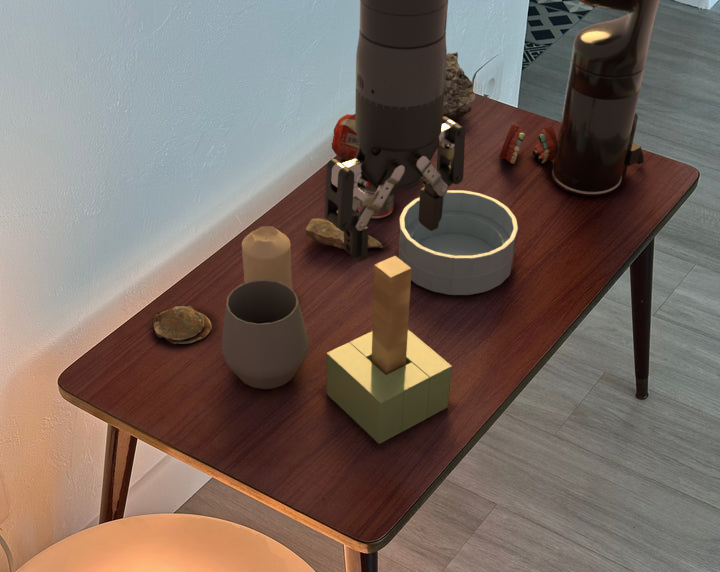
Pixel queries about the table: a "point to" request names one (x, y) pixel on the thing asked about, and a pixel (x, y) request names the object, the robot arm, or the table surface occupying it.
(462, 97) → the rock
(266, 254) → the candle
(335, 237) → the artifact
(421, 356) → the stand
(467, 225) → the bowl
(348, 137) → the beverage can
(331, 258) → the table surface
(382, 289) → the stick
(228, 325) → the cup
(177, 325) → the decorative disc
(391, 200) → the pill bottle
